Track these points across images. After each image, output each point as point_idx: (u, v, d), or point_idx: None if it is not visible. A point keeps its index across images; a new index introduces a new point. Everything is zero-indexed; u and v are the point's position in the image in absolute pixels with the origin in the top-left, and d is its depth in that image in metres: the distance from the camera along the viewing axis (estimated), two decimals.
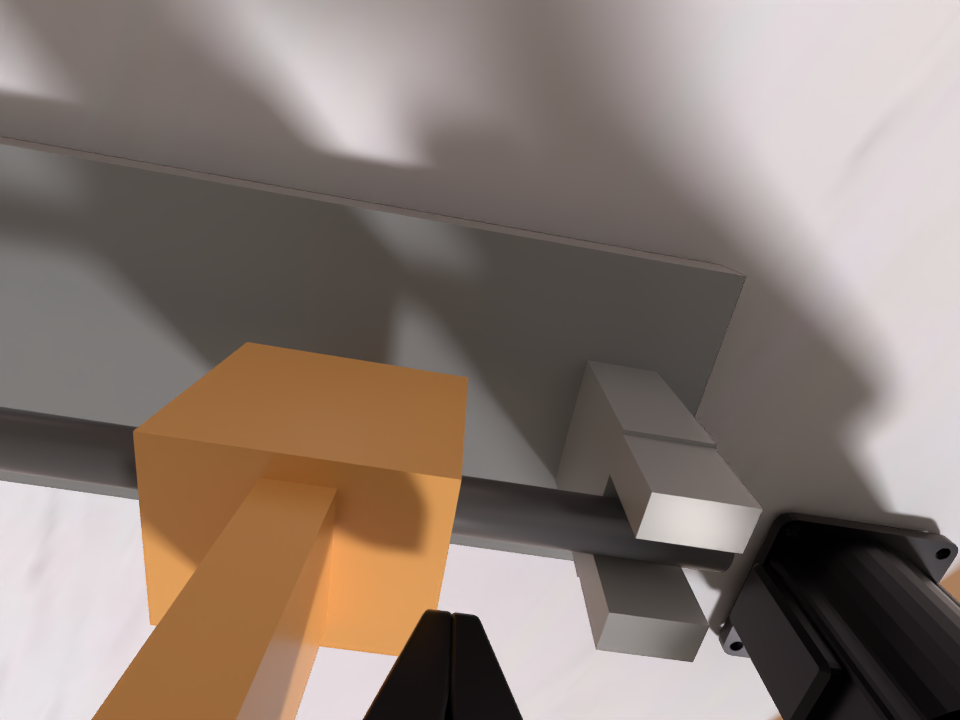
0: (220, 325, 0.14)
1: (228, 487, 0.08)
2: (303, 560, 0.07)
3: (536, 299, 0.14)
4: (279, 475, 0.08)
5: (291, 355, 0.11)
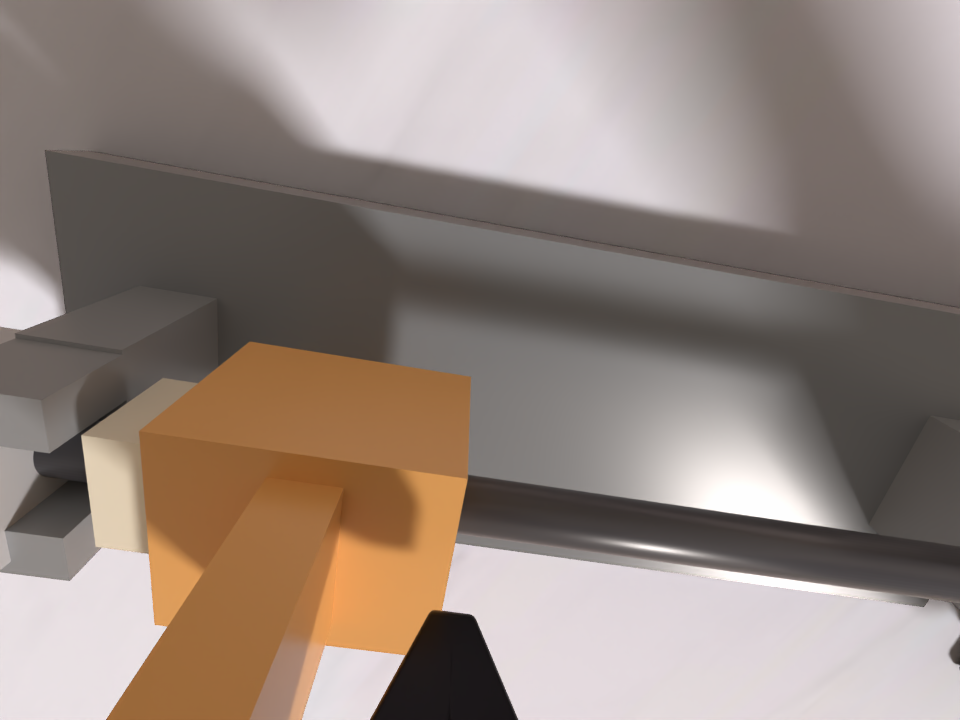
0: (590, 384, 0.15)
1: (234, 487, 0.08)
2: (312, 559, 0.07)
3: (897, 360, 0.14)
4: (285, 475, 0.08)
5: (295, 355, 0.11)
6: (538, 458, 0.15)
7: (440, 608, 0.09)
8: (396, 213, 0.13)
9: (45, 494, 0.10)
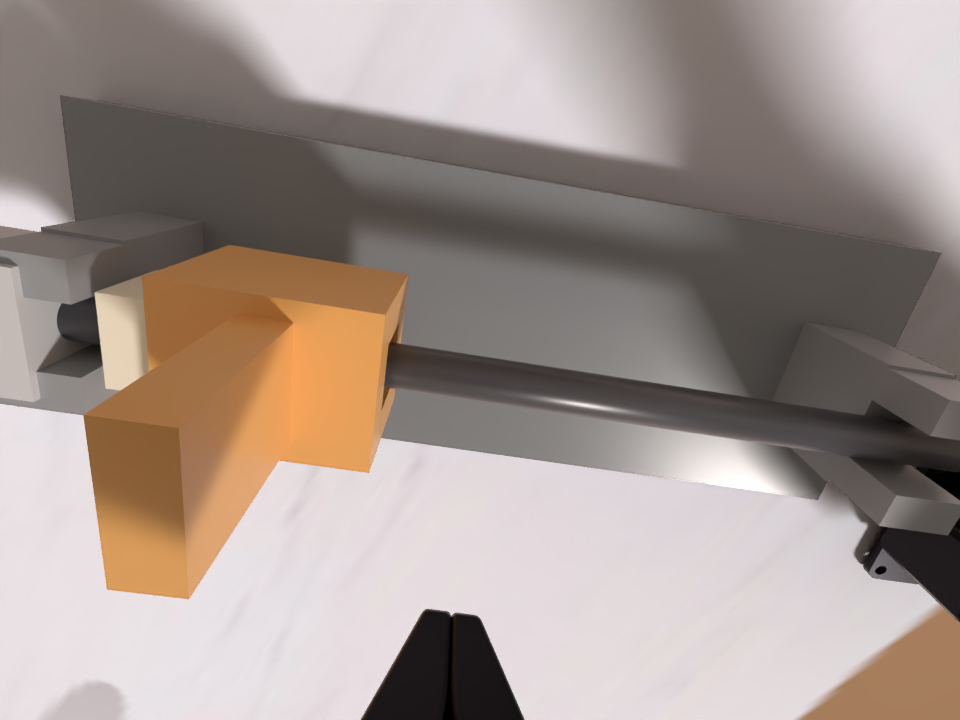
0: (517, 295, 0.17)
1: (212, 323, 0.11)
2: (264, 349, 0.09)
3: (772, 272, 0.17)
4: (250, 312, 0.11)
5: (265, 254, 0.14)
6: None
7: (372, 427, 0.12)
8: (348, 147, 0.16)
9: (65, 353, 0.13)
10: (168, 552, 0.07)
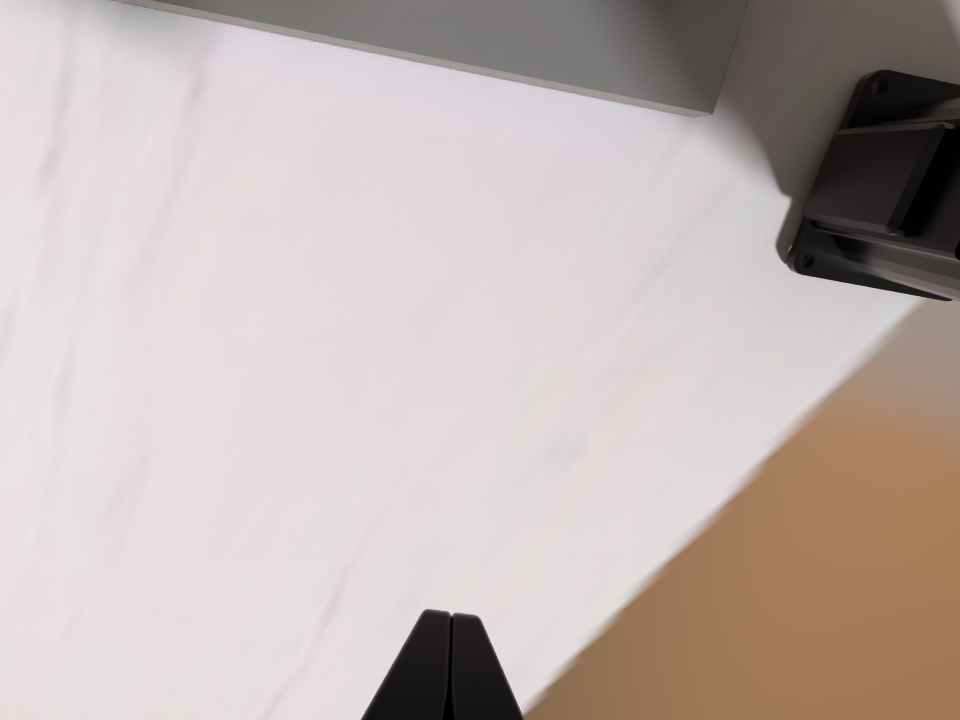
0: None
1: None
2: None
3: None
4: None
5: None
6: None
7: None
8: None
9: None
10: None
